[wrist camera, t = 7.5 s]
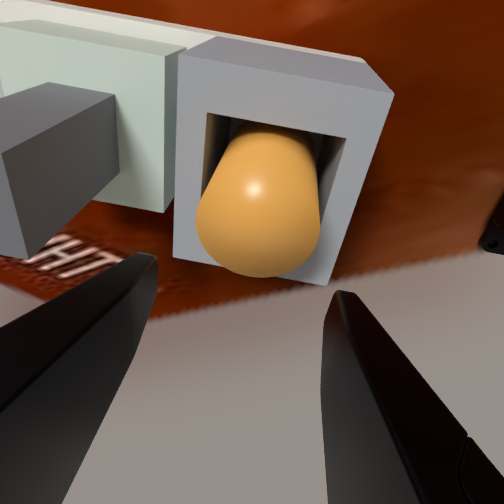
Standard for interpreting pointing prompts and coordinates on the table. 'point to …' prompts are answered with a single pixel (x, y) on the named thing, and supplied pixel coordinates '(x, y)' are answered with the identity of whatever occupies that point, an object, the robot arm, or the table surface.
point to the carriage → (81, 127)
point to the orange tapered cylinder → (262, 202)
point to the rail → (253, 114)
